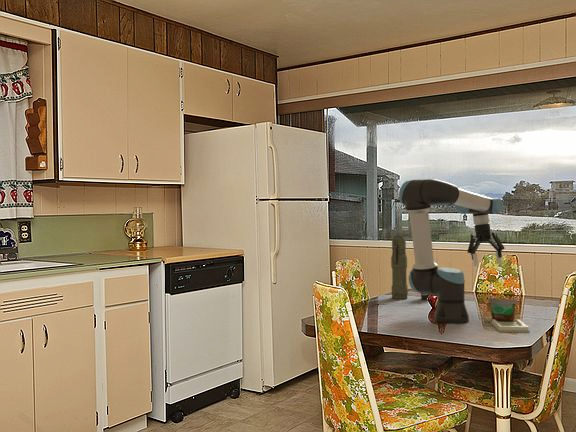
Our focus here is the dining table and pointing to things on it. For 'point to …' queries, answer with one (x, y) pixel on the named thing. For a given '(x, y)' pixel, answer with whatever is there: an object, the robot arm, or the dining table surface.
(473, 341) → the dining table surface
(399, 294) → the olive brown statue
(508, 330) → the cream rectangular tray
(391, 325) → the dining table surface
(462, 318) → the robot arm
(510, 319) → the food container
